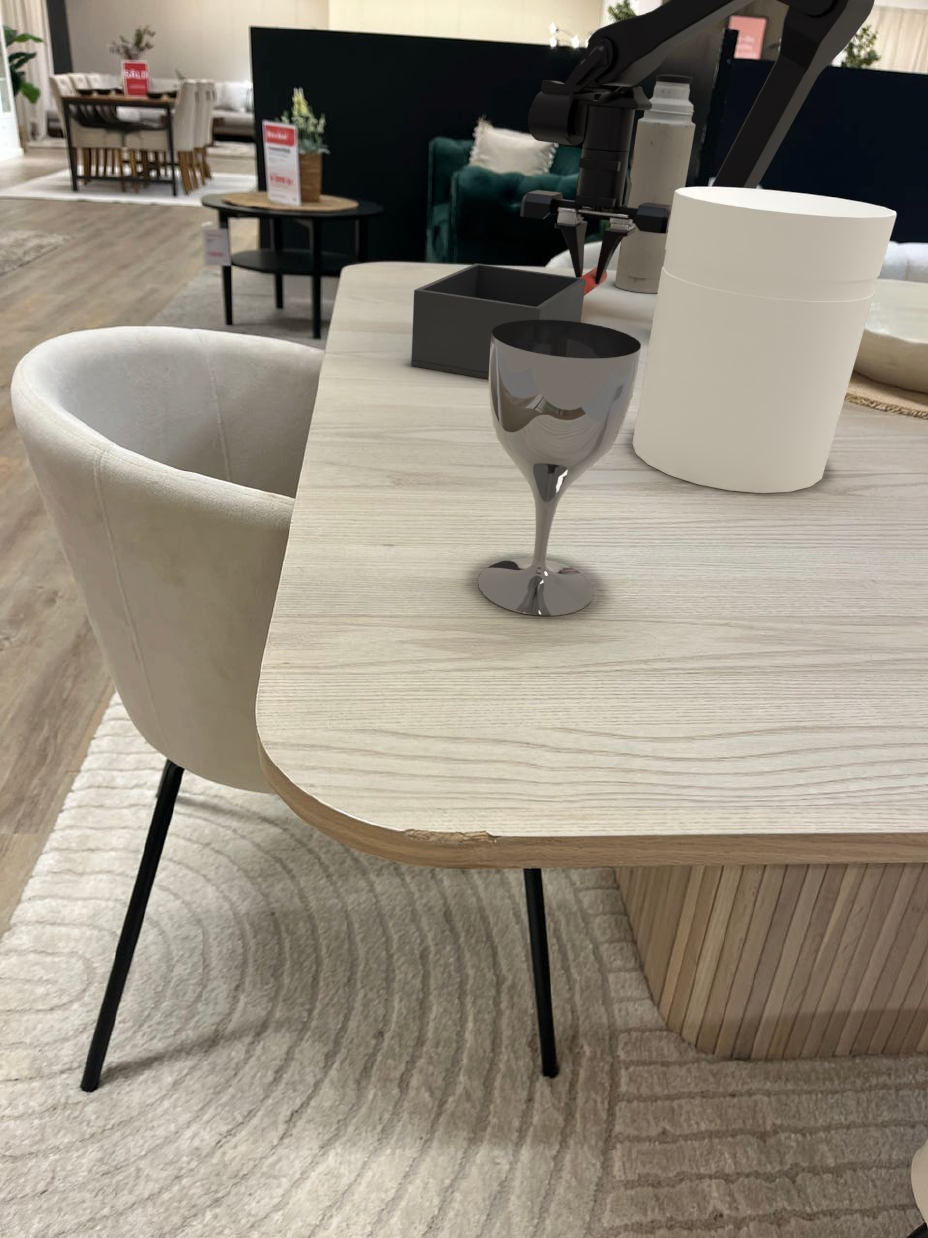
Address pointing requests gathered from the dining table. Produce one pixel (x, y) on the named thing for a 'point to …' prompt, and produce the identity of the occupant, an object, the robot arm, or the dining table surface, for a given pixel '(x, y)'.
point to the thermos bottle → (656, 178)
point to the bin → (484, 313)
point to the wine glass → (554, 438)
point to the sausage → (592, 280)
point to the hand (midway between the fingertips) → (588, 282)
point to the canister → (756, 334)
